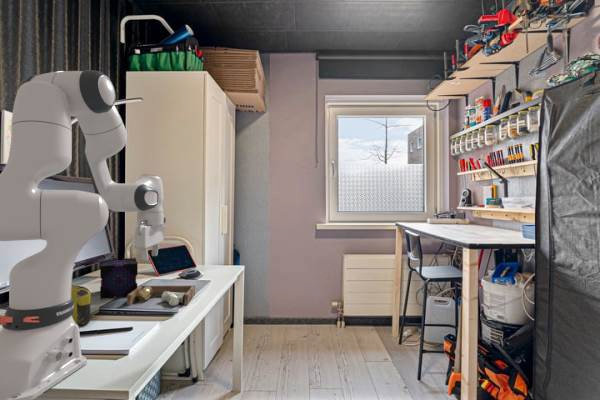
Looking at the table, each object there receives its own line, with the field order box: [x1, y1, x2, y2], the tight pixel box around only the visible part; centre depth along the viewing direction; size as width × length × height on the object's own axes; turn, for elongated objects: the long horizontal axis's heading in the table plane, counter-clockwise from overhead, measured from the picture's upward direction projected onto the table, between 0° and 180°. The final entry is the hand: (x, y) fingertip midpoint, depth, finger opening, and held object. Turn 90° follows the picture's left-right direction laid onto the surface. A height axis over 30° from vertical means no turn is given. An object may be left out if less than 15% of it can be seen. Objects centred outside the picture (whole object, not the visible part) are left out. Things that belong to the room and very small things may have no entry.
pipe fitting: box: [161, 291, 186, 307], centre depth 122 cm, size 8×4×7 cm
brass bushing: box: [137, 287, 153, 302], centre depth 126 cm, size 4×4×5 cm
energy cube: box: [99, 257, 139, 300], centre depth 133 cm, size 12×12×12 cm
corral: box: [126, 285, 196, 307], centre depth 125 cm, size 12×20×4 cm, turn 95°
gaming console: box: [71, 284, 92, 326], centre depth 107 cm, size 26×4×10 cm, turn 57°
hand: (150, 257), depth 127 cm, fingers open, 8 cm apart
